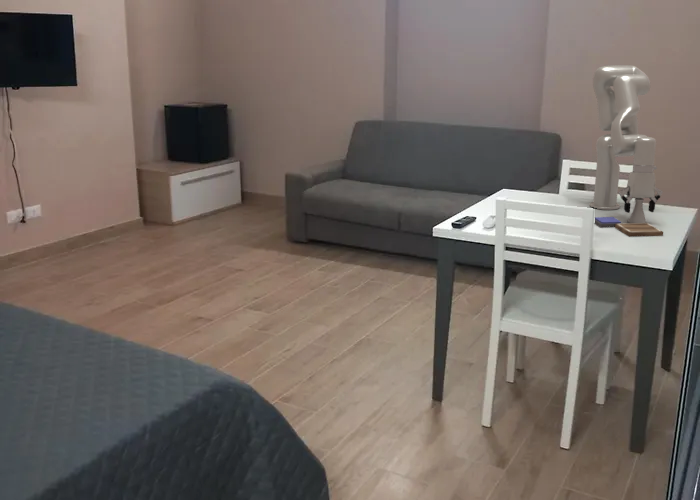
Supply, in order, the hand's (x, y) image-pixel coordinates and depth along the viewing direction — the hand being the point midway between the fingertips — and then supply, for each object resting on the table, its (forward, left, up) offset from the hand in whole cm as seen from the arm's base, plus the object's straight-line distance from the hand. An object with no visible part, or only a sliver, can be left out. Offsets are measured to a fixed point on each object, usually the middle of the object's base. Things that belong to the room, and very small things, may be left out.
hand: (639, 211), depth 284 cm
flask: (-1, 0, -5) cm, 5 cm away
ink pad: (0, -13, -5) cm, 13 cm away
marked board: (+12, -5, -5) cm, 14 cm away
